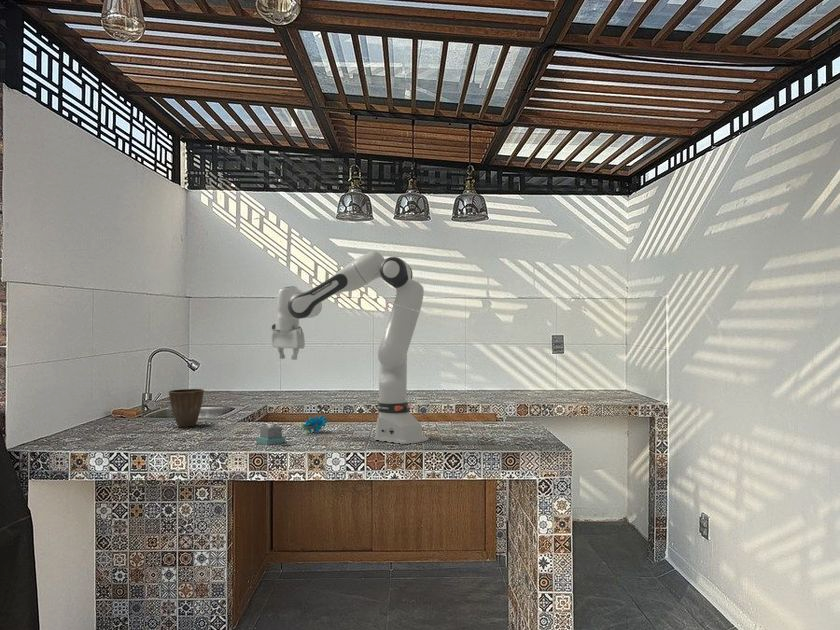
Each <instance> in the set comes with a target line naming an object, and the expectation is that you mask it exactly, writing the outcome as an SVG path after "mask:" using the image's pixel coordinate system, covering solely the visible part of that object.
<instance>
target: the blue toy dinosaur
mask: <svg viewBox="0 0 840 630" xmlns="http://www.w3.org/2000/svg"><path fill="white" fill-rule="evenodd" d="M308 419H309V420H305V423H301V428H302V429H303V430H304V431H305V432H306V435H309V432H312V431H313V432H316V433H317V434H320V433H321V432H320V430H321V429H322V428H323V427H325V426H326V424H327V423H328V420H327V416H324V415H322V414H321V415H319V417H318V415H315V416H314V417H311V416H310V417H309V418H308Z"/></svg>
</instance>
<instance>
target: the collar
mask: <svg viewBox="0 0 840 630" xmlns="http://www.w3.org/2000/svg"><path fill="white" fill-rule="evenodd" d="M259 429H260V430H259V431H260V432H259V433H260V434H259V437H262V438H266V439H272V438H279V437H282V436H283V426H281V425H277V424H276V425H275V424H273V427H271V428H269V427H268V425H263V426H260V427H259Z"/></svg>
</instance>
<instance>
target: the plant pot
mask: <svg viewBox="0 0 840 630" xmlns="http://www.w3.org/2000/svg"><path fill="white" fill-rule="evenodd" d="M204 393H205V390H204V389H203V388H184V389H183V388H182V389H181V388H180V389H173V390H169V391H168V395H169V402H170V405H171V409H172V410H171V411H172V414H173V416H174V419H175V422H176V424H177V427H178V426H179V427H178V428H189V427H188V426H192V427H195V426H196V424H197V423H198V419H199V418H200V417H199V416H200V413H201V410H202V406H203V405H202V404H203V398H204ZM194 425H195V426H194Z"/></svg>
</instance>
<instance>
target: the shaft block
mask: <svg viewBox="0 0 840 630" xmlns="http://www.w3.org/2000/svg"><path fill="white" fill-rule="evenodd" d="M273 425H274V423H268V424H267V426H268V427H269V428H271V427H273ZM255 441H256V443H257V442H258V444H262V445H265V446H270V445H275V444H276V445H277V444H282V443H283V442H284V443H286V436H283V435H282V437H279V438H272V439H266V438H262V437H260V436H256V439H255ZM284 443H283V444H284Z"/></svg>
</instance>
